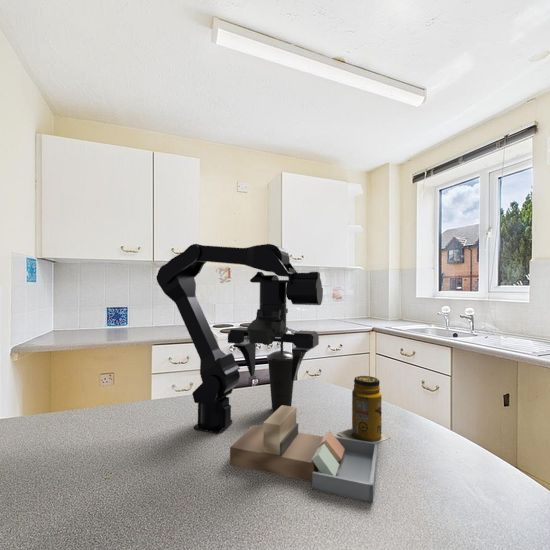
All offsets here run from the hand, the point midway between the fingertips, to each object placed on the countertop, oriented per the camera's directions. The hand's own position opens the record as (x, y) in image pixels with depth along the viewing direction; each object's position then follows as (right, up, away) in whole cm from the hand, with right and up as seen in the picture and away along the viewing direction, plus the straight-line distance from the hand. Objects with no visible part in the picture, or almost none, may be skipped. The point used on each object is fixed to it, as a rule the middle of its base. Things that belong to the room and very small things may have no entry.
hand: (272, 378), depth 70 cm
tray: (+13, -12, -14) cm, 22 cm away
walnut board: (+1, -12, -9) cm, 15 cm away
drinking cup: (+2, -13, +15) cm, 20 cm away
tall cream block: (+2, -9, -10) cm, 13 cm away
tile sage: (+8, -10, -15) cm, 20 cm away
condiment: (+19, -12, 0) cm, 23 cm away
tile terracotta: (+10, -10, -10) cm, 17 cm away
